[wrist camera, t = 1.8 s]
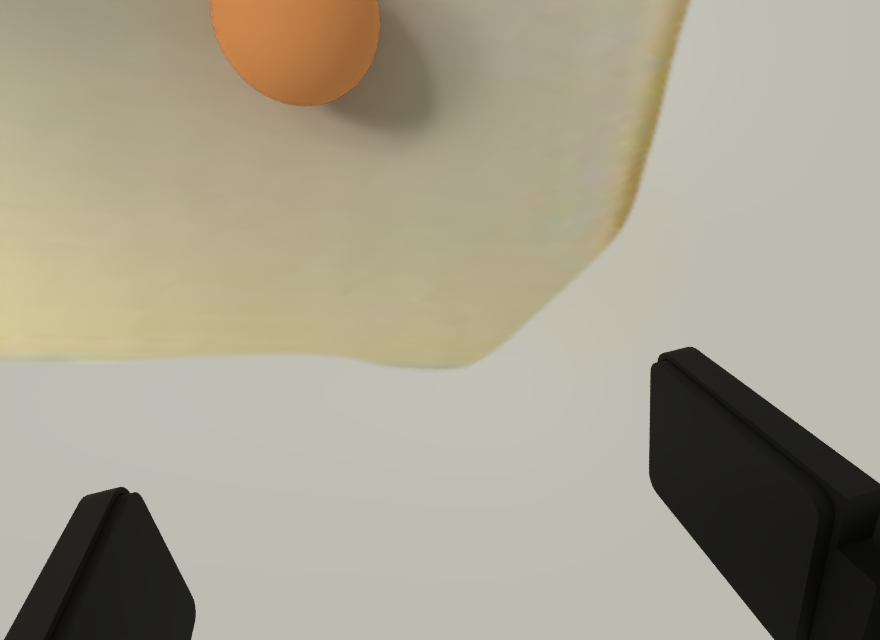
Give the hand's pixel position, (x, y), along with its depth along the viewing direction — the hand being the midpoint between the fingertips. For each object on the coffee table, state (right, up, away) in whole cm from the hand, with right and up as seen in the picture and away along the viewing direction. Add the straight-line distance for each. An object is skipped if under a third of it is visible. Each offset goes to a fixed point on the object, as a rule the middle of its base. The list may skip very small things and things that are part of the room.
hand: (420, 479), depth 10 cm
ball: (-5, +14, +10) cm, 18 cm away
